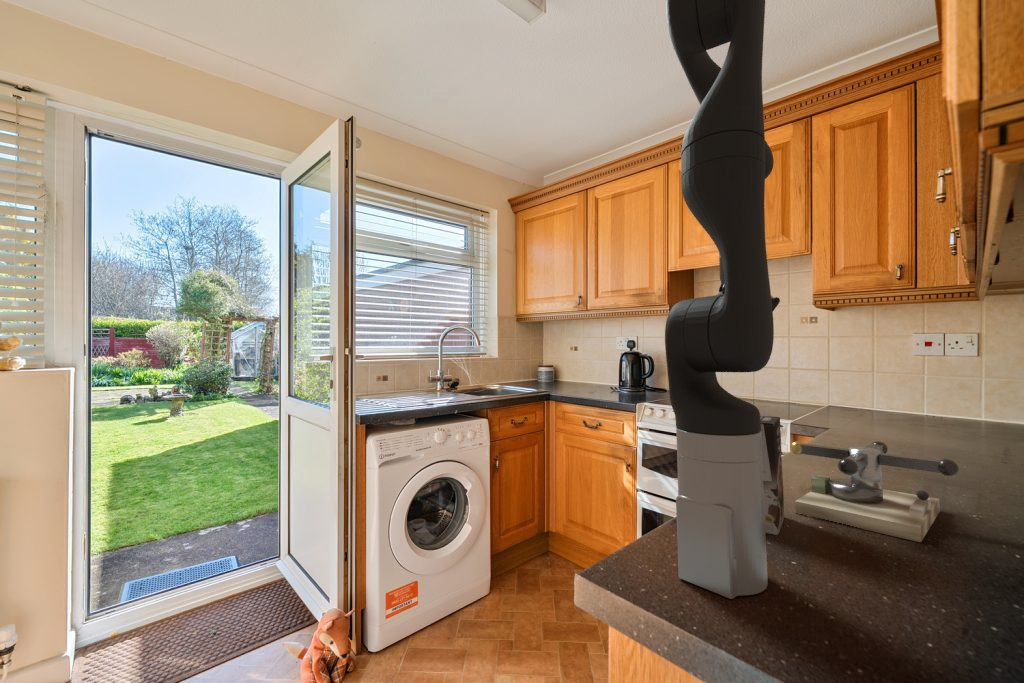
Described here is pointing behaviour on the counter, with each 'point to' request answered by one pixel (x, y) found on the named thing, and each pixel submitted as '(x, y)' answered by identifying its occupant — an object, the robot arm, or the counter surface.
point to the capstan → (869, 468)
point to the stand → (873, 510)
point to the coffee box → (772, 474)
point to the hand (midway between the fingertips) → (744, 349)
